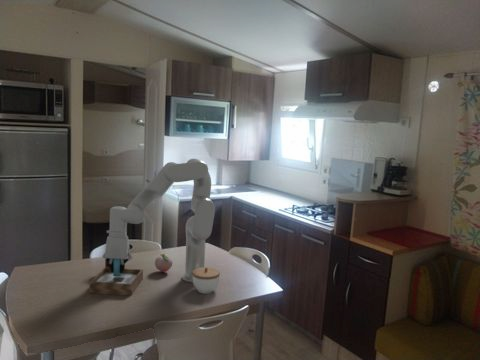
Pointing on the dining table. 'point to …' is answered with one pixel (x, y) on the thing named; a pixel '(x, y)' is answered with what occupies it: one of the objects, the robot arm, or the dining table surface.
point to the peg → (116, 267)
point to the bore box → (116, 282)
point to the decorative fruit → (163, 263)
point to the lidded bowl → (205, 279)
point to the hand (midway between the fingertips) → (117, 271)
